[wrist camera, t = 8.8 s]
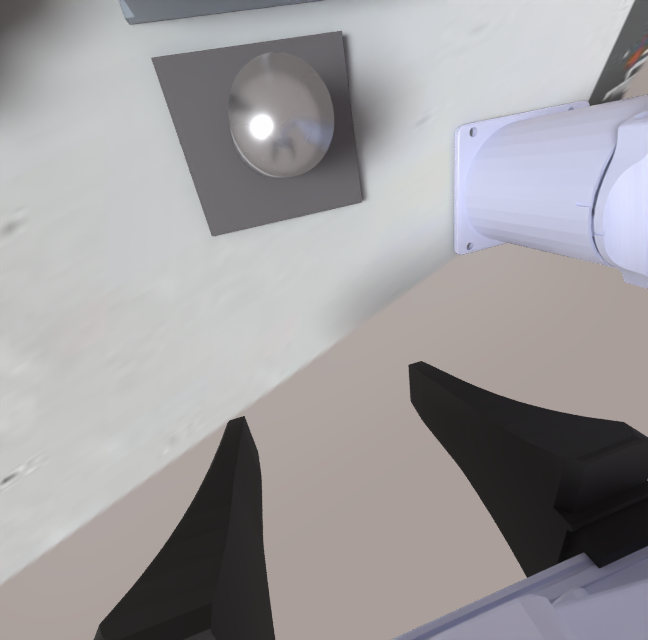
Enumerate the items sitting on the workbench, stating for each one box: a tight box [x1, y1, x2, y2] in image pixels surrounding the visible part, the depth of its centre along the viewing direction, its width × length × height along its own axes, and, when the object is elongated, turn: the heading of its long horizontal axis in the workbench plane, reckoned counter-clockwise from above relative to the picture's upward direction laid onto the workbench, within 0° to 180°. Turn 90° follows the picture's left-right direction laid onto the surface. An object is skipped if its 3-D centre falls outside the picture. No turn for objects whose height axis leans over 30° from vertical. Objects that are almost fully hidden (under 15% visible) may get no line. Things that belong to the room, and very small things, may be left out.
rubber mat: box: [151, 31, 362, 236], centre depth 17 cm, size 9×8×1 cm
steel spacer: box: [228, 52, 334, 178], centre depth 14 cm, size 4×4×5 cm
